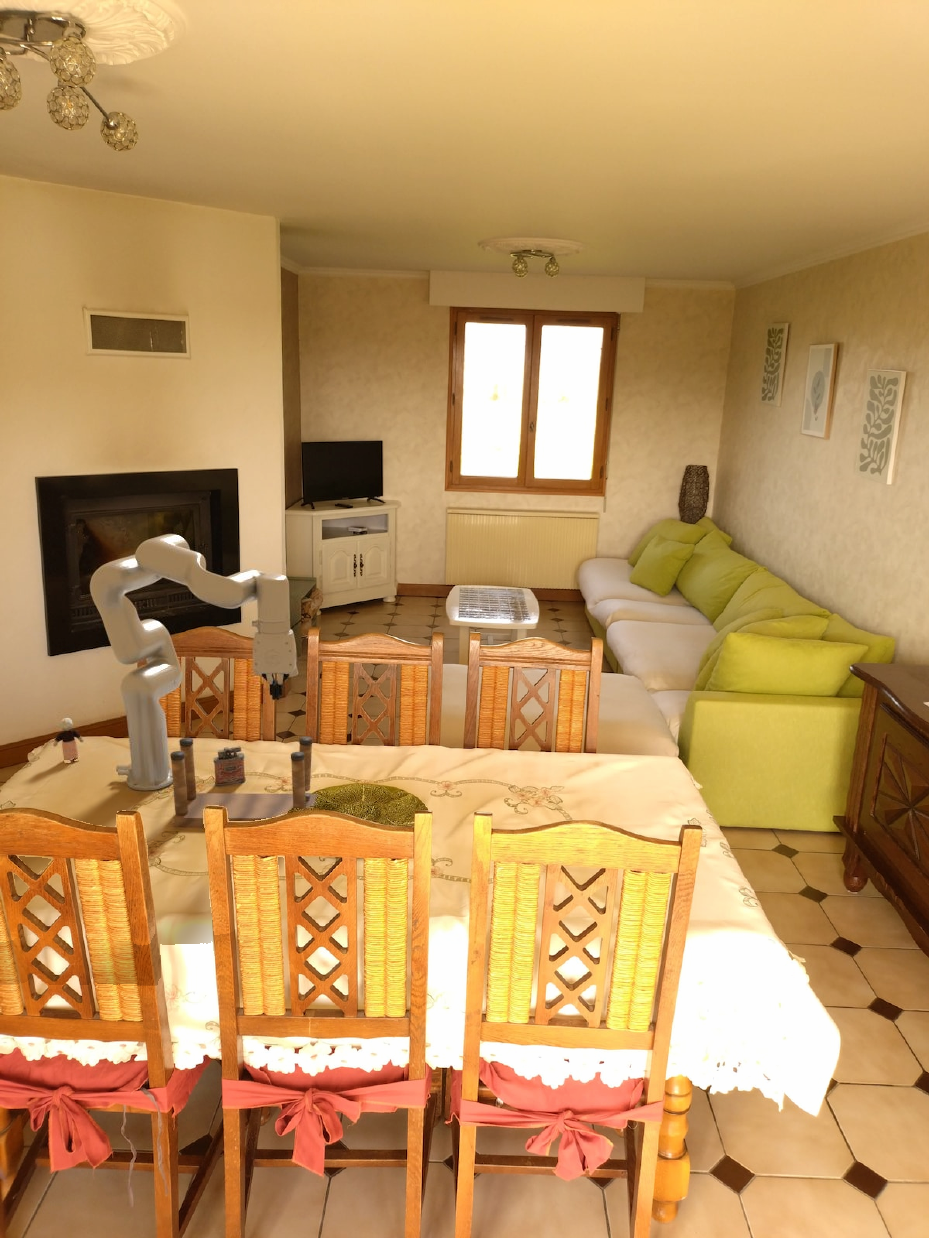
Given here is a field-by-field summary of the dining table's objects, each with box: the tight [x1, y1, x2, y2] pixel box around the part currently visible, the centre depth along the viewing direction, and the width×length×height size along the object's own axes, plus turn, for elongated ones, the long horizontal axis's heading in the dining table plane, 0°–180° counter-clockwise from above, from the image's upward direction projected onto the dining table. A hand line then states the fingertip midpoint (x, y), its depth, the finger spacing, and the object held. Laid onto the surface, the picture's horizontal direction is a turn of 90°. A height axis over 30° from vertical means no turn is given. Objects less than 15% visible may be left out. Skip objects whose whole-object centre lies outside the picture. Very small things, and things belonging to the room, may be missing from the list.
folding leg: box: [298, 736, 313, 793], centre depth 235 cm, size 14×3×3 cm
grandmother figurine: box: [52, 717, 84, 761], centre depth 260 cm, size 8×4×13 cm, turn 133°
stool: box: [169, 737, 318, 828], centre depth 231 cm, size 33×13×18 cm, turn 91°
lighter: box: [213, 745, 246, 788], centre depth 249 cm, size 8×3×10 cm, turn 117°
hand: (276, 697), depth 230 cm, fingers closed
